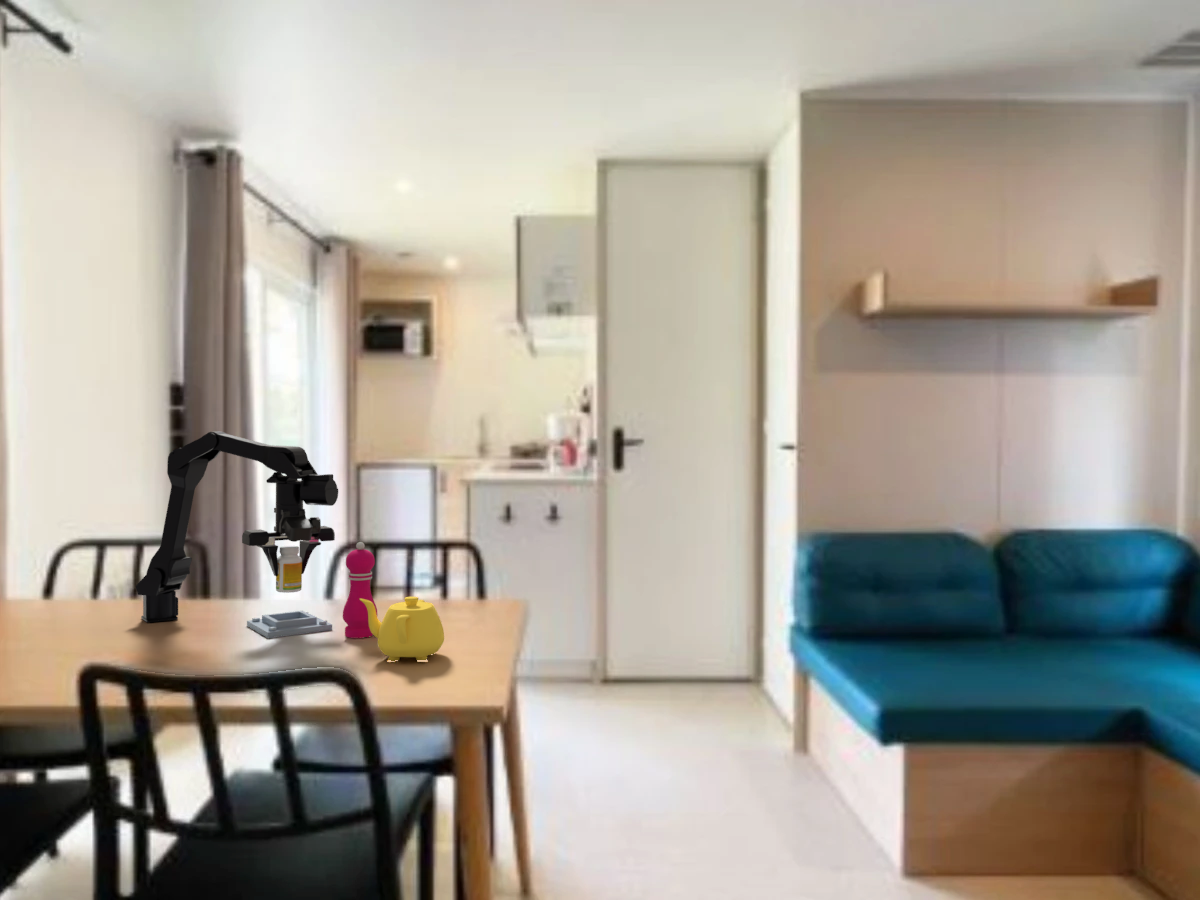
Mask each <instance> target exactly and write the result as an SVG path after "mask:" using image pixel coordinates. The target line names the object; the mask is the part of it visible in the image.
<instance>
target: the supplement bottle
mask: <svg viewBox="0 0 1200 900" xmlns="http://www.w3.org/2000/svg"><path fill="white" fill-rule="evenodd" d="M279 554H280V556H277V563H278V575H277V576H275V591H276V592H278V593H284V594H285V593H298V592H300V591H301V590H302V586H303V583H302V580H303V579H302V578H303V574H302V558H301V557H300V556H299V555H298V554H300V546H298V545H283V546H282V545H281V546H279Z"/></svg>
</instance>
